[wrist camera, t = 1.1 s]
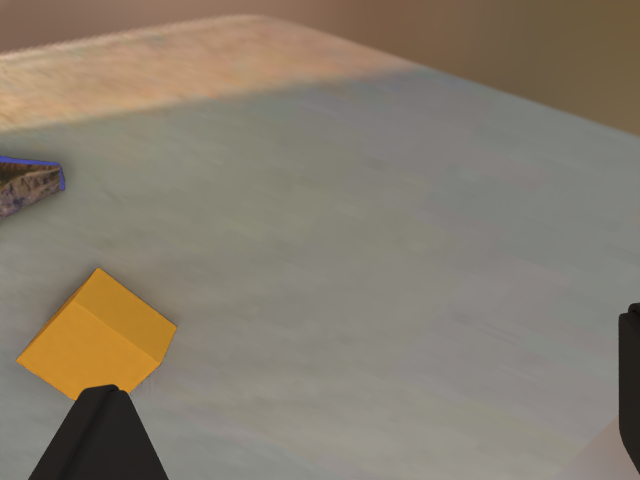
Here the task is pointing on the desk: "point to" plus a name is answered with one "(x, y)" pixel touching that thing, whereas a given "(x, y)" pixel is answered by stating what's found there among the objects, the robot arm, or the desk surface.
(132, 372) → the small orange block
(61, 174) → the decorative rock
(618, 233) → the desk surface
